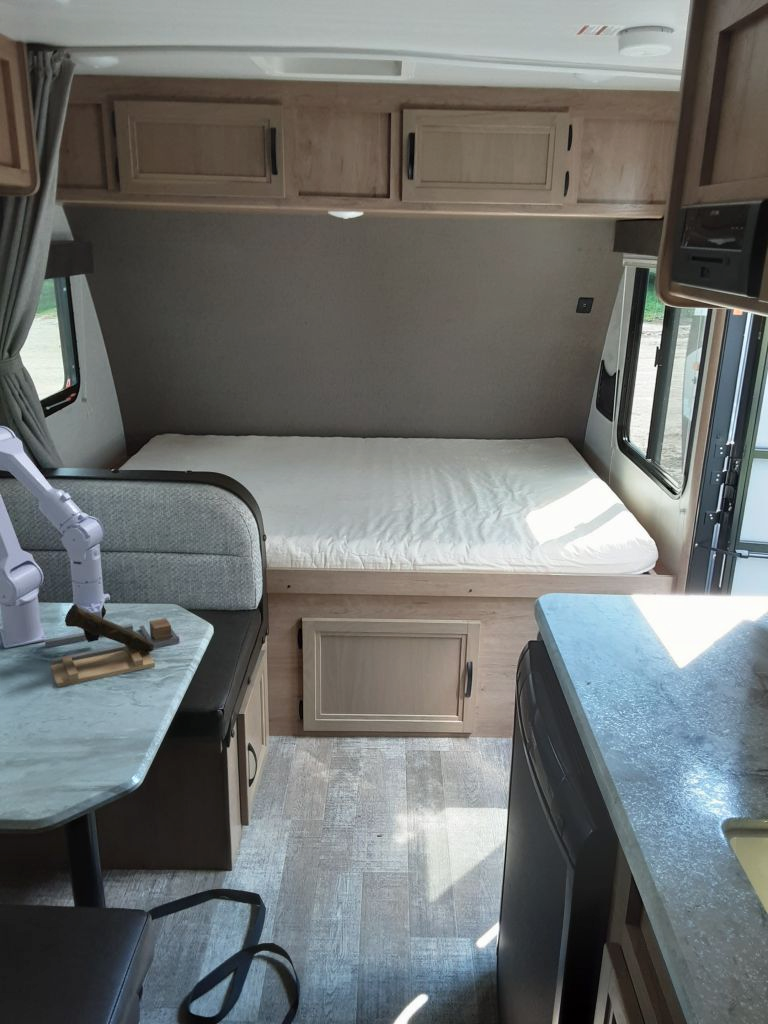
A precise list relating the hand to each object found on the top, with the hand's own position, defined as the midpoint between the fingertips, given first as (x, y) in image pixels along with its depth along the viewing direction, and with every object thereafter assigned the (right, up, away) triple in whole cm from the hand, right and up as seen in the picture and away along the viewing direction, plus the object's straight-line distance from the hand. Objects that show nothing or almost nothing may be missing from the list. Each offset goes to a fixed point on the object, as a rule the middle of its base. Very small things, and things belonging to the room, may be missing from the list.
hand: (92, 639), depth 164 cm
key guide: (+12, 0, +6) cm, 13 cm away
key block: (+13, 0, +5) cm, 14 cm away
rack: (+5, -4, -8) cm, 10 cm away
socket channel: (0, -1, +1) cm, 2 cm away
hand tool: (+6, +4, -5) cm, 8 cm away
